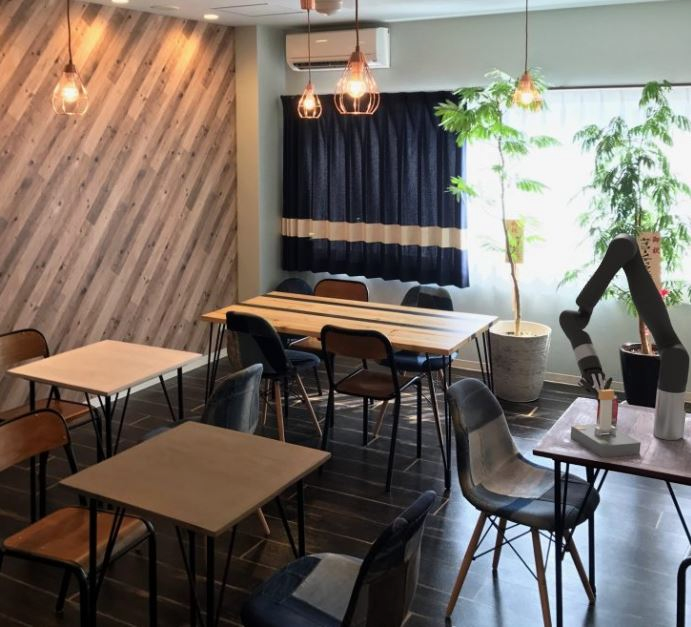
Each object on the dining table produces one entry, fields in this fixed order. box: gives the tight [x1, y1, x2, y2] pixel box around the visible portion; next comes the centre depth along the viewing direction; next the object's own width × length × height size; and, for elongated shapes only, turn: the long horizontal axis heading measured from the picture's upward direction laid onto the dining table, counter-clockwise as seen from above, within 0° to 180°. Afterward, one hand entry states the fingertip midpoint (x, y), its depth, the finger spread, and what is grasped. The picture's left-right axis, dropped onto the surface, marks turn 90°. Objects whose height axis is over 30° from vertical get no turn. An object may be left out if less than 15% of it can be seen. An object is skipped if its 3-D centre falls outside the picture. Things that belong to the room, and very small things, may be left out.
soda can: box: [596, 394, 619, 428], centre depth 292 cm, size 7×7×12 cm
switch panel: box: [570, 423, 642, 458], centre depth 274 cm, size 14×20×6 cm
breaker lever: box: [599, 388, 615, 433], centre depth 273 cm, size 4×2×15 cm, turn 105°
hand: (603, 403), depth 274 cm, fingers closed
